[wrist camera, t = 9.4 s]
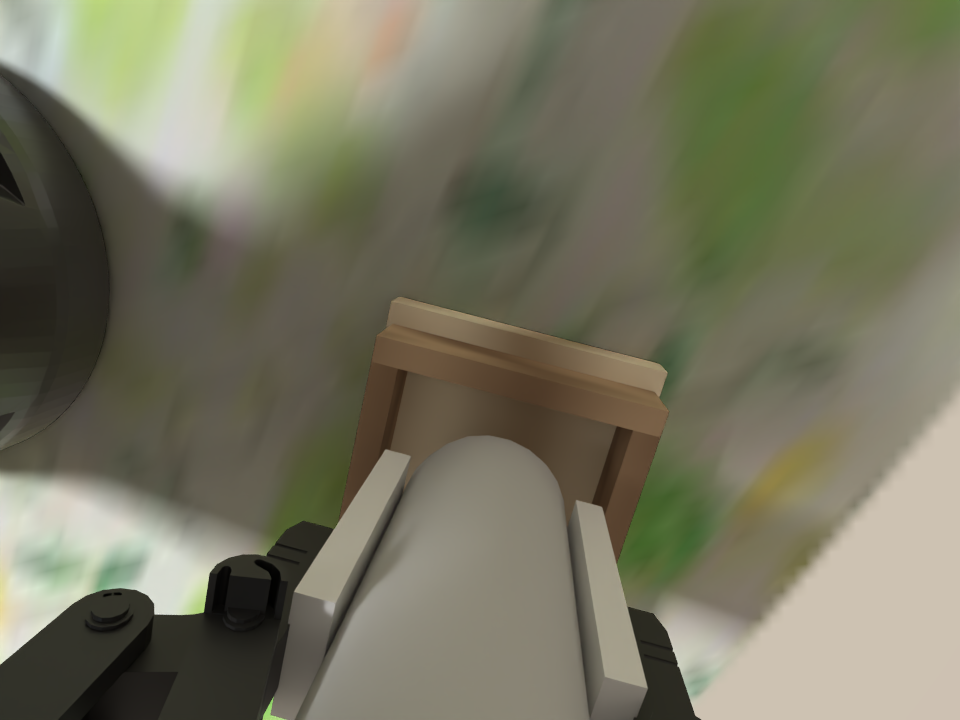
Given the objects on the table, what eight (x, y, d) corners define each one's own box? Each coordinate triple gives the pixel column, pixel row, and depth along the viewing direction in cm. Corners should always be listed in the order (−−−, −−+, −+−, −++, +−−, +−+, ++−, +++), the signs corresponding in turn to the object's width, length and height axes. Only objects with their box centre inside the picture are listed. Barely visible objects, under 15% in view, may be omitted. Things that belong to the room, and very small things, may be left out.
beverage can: (575, 561, 18) (657, 1188, 6) (425, 580, 19) (246, 1182, 7) (549, 416, 17) (590, 842, 5) (391, 440, 18) (115, 872, 6)
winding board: (318, 678, 23) (286, 748, 20) (399, 296, 19) (374, 310, 16) (534, 738, 23) (534, 818, 20) (659, 363, 19) (684, 390, 16)
